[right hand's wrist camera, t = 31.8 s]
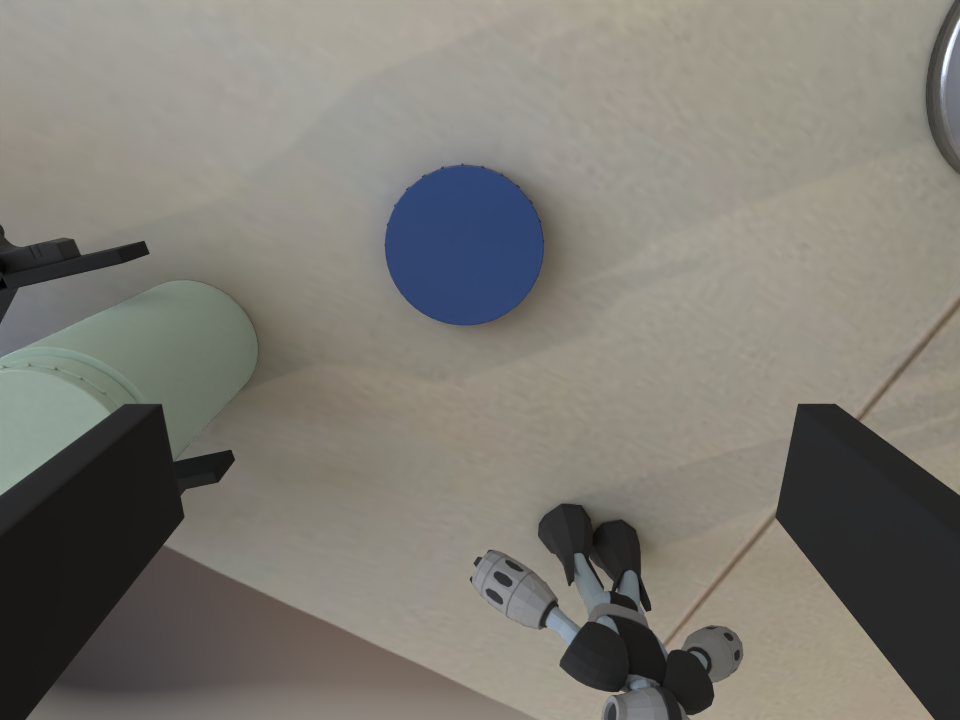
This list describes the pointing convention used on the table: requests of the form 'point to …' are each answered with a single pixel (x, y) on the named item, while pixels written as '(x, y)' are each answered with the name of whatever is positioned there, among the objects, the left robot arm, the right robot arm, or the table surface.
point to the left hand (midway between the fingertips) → (183, 365)
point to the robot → (610, 621)
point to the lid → (464, 245)
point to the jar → (125, 372)
